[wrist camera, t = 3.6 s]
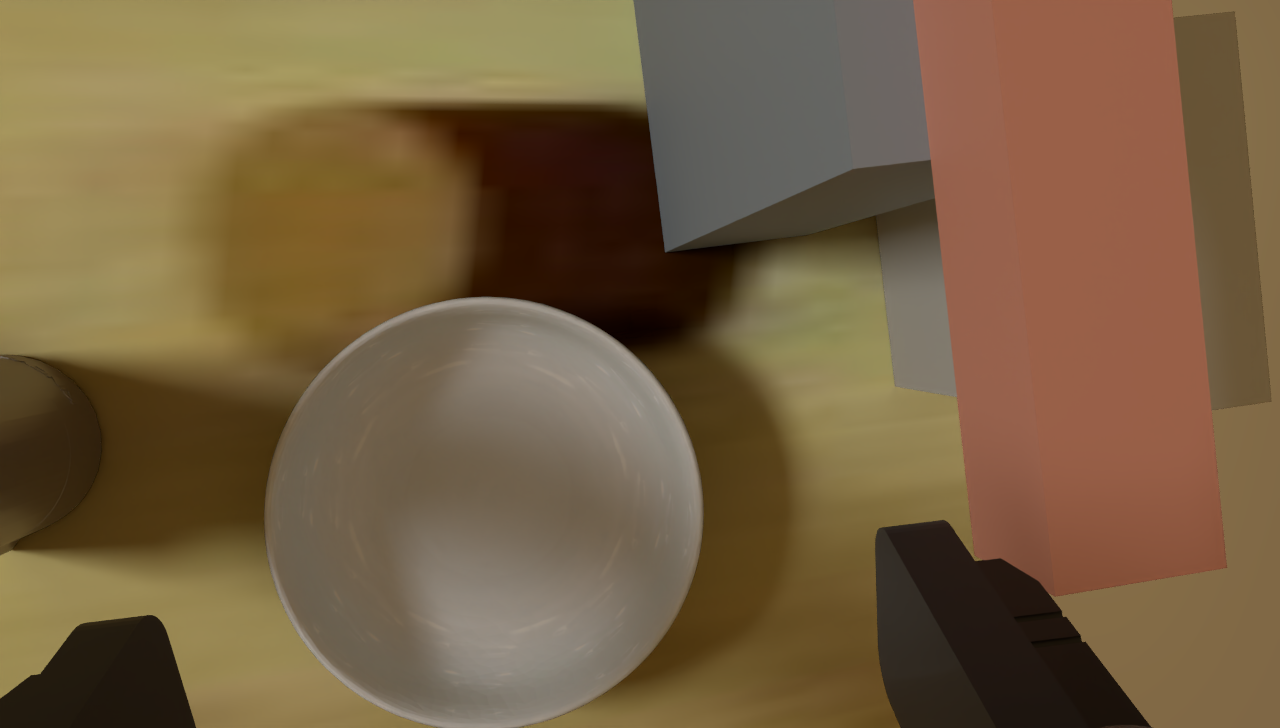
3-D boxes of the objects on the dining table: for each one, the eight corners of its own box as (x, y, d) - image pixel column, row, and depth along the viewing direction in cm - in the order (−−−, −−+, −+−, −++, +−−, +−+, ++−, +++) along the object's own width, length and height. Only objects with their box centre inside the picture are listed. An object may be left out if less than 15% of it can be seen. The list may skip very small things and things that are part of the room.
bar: (1122, 532, 27) (1226, 567, 23) (974, 555, 27) (1055, 596, 23) (1014, -519, 26) (1105, -672, 22) (855, -514, 25) (919, -668, 21)
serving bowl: (267, 665, 56) (234, 712, 49) (321, 273, 56) (295, 266, 49) (653, 703, 59) (672, 754, 52) (708, 329, 58) (734, 330, 52)
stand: (996, 372, 60) (1535, 429, 29) (685, 415, 58) (894, 529, 26) (951, -38, 59) (1464, -455, 27) (632, -8, 57) (785, -421, 25)
